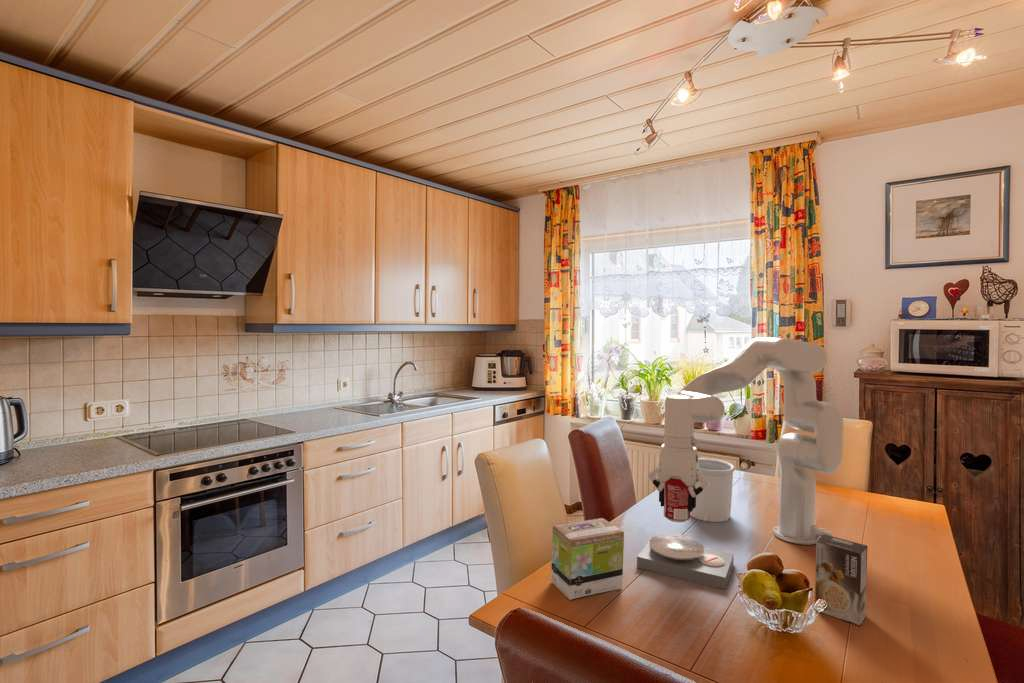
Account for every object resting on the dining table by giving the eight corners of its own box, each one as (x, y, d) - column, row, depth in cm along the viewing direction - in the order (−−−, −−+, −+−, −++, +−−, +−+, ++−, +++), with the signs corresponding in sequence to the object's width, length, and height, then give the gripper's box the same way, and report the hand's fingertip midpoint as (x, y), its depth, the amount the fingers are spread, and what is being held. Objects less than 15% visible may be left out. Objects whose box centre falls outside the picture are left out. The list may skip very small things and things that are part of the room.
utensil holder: (741, 517, 176) (743, 465, 175) (714, 527, 168) (716, 472, 167) (703, 504, 188) (705, 455, 187) (676, 512, 180) (677, 461, 179)
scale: (733, 564, 142) (733, 551, 142) (725, 589, 129) (725, 575, 129) (652, 546, 153) (652, 534, 153) (636, 567, 140) (637, 554, 140)
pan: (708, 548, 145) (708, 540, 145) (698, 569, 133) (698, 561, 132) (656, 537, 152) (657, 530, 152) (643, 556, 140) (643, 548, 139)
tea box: (570, 602, 123) (571, 540, 122) (550, 582, 132) (550, 524, 132) (623, 589, 129) (624, 530, 128) (601, 571, 138) (602, 515, 138)
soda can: (691, 524, 138) (692, 479, 137) (664, 522, 139) (665, 477, 138) (688, 515, 144) (689, 472, 144) (662, 513, 146) (663, 470, 145)
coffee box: (867, 615, 118) (869, 545, 117) (860, 627, 114) (862, 554, 113) (821, 599, 125) (823, 533, 124) (813, 610, 120) (815, 541, 120)
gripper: (715, 443, 140) (713, 509, 140) (650, 435, 148) (648, 497, 149) (710, 449, 133) (708, 518, 134) (642, 440, 142) (641, 505, 143)
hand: (677, 507), depth 142 cm, fingers closed on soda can, 6 cm apart
